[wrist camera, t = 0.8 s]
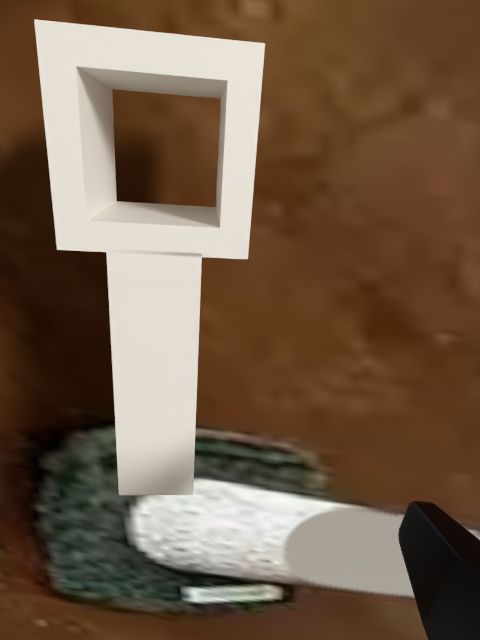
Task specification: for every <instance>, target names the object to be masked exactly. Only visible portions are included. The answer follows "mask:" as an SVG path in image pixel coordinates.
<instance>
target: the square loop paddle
mask: <svg viewBox="0 0 480 640" xmlns="http://www.w3.org/2000/svg"><path fill="white" fill-rule="evenodd" d="M34 21H35V31H36V42H37V52H38V62H39V72H40V82H41V92H42V103H43V113H44V123H45V133H46V143H47V154H48V164H49V174H50V184H51V194H52V204H53V215H54V225H55V235H56V245H57V250H71V251H91V252H106V256H107V275H108V294H109V313H110V332H111V351H112V370H113V389H114V408H115V427H116V446H117V465H118V484H119V495H193V479H194V452H195V425H196V398H197V370H198V343H199V316H200V289H201V261H202V257H212V258H232V259H248V249H249V237H250V224H251V212H252V199H253V187H254V174H255V162H256V149H257V137H258V124H259V112H260V99H261V87H262V74H263V62H264V49H265V43H255V42H246V41H236V40H227V39H217V38H207V37H198V36H188V35H179V34H169V33H159V32H150V31H140V30H131V29H121V28H111V27H102V26H92V25H83V24H73V23H63V22H54V21H44V20H34ZM112 89H118V90H129V91H141V92H152V93H163V94H174V95H185V96H197V97H208V98H219V99H221V107H220V128H219V149H218V170H217V191H216V207H201V206H185V205H169V204H153V203H137V202H121V201H117V196H116V172H115V147H114V123H113V98H112Z"/></svg>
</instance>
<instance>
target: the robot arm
mask: <svg viewBox="0 0 480 640" xmlns="http://www.w3.org/2000/svg"><path fill="white" fill-rule="evenodd" d="M398 536H399V543H400V547H401V551H402V554H403V558H404V561H405V564H406V568H407V572H408V575H409V579H410V582H411V586H412V589H413V593H414V596H415V600H416V603H417V607H418V610H419V613H420V617H421V620H422V623H423V626H424V629H425V631H426V634H427V637H428V640H480V540H479V539H478V538H476V537H475V536H474V535H473V534H471V533H470V532H469V531H468V530H466V529H465V528H464V527H463V526H461V525H460V524H459V523H458V522H456V521H455V520H454V519H453V518H451V517H450V516H449V515H448V514H446V513H445V512H444V511H443V510H441V509H440V508H439V507H438V506H436V505H435V504H433V503H431V502H422V501H413V502H411V503H410V504H409V506H408V508H407V510H406V513H405V516H404V518H403V521H402V524H401V526H400V528H399V535H398Z"/></svg>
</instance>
